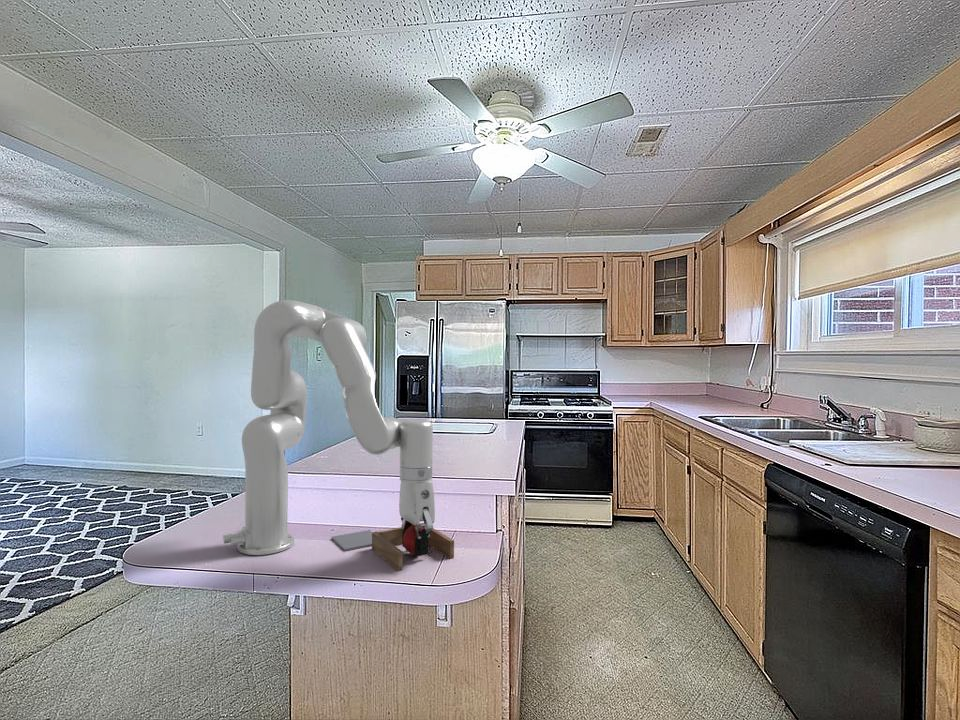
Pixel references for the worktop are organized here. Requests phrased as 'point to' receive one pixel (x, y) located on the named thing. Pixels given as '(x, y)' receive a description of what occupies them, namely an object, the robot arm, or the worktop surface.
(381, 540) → the tan u-shaped frame
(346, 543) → the mat
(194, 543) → the worktop surface
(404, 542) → the onion
